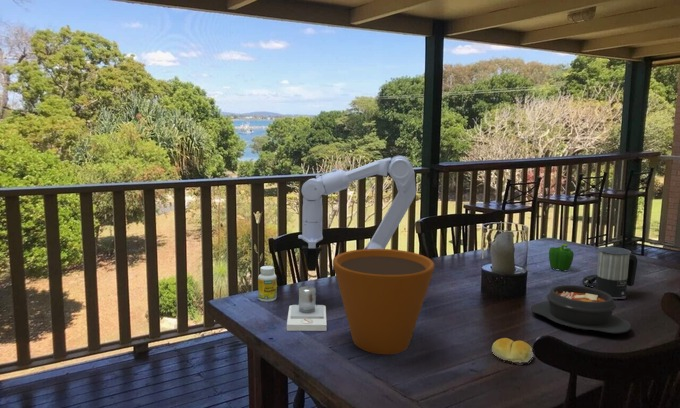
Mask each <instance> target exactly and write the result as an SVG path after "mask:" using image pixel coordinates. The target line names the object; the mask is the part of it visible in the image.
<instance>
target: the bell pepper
mask: <svg viewBox="0 0 680 408" xmlns="http://www.w3.org/2000/svg"><path fill="white" fill-rule="evenodd" d="M548 259H549V265H550V268H551V269H552V268H554V269H559V270H558V271H560V270H568V271H569V270H570V268H571V267H572V264H573V260H574V251H573V250H572V249H571V248H569V245H567V244H565V243H563V244H561V245H560V246H558V247H550V249H549V250H548ZM554 269H553V270H554Z"/></svg>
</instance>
